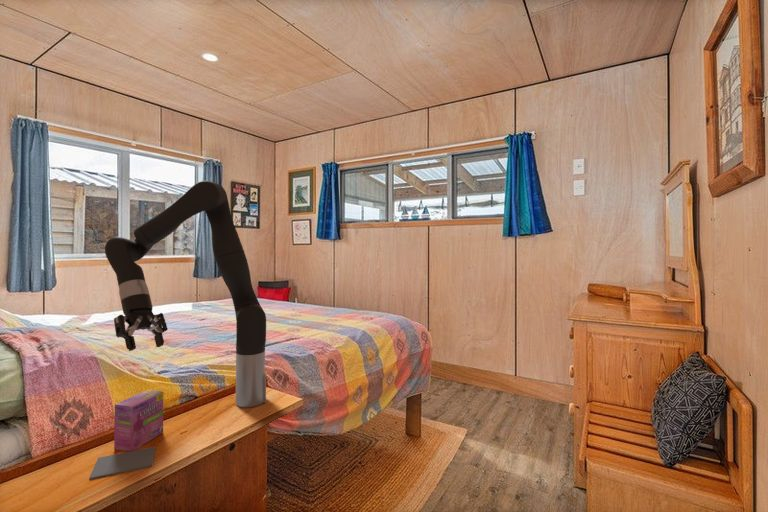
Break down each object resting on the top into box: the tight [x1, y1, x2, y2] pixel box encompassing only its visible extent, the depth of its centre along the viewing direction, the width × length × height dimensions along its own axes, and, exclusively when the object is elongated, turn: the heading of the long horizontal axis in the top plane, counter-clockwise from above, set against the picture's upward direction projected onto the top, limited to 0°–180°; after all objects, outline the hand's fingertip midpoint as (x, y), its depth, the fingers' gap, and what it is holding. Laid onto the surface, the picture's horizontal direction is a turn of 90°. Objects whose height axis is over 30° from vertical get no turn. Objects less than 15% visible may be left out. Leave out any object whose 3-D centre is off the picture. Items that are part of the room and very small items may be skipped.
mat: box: [88, 446, 156, 481], centre depth 90 cm, size 12×9×1 cm
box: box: [113, 389, 164, 452], centre depth 100 cm, size 10×6×12 cm, turn 168°
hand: (146, 348), depth 110 cm, fingers open, 8 cm apart
